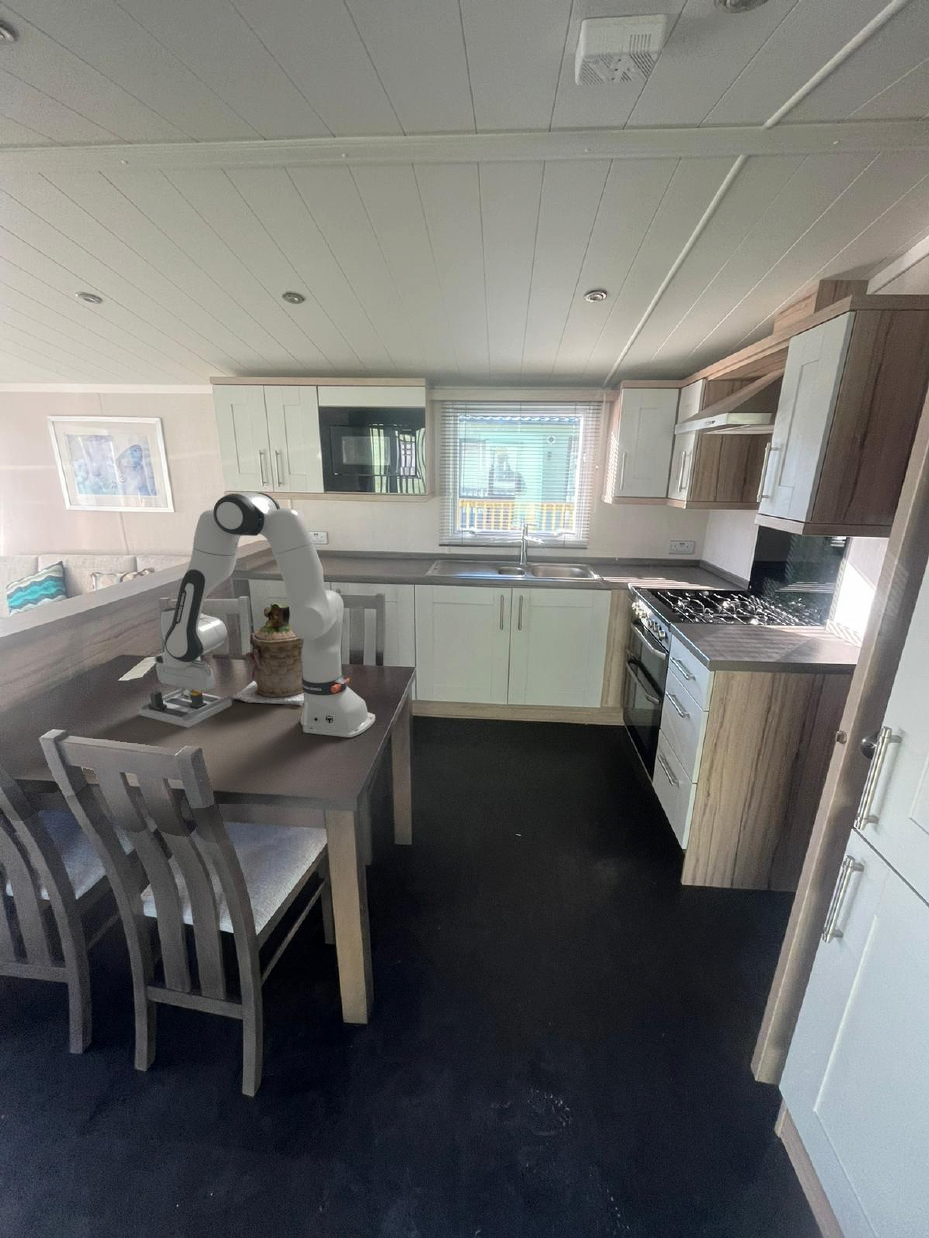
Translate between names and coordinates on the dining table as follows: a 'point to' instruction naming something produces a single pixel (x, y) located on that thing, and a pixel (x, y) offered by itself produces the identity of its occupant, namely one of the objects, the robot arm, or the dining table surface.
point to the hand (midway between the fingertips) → (189, 699)
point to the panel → (185, 709)
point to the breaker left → (157, 701)
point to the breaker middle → (197, 699)
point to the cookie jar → (275, 661)
